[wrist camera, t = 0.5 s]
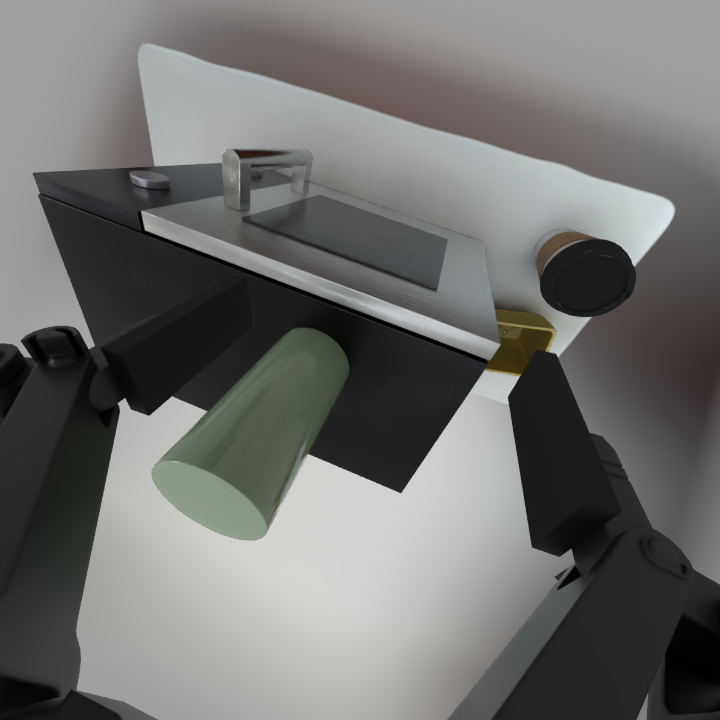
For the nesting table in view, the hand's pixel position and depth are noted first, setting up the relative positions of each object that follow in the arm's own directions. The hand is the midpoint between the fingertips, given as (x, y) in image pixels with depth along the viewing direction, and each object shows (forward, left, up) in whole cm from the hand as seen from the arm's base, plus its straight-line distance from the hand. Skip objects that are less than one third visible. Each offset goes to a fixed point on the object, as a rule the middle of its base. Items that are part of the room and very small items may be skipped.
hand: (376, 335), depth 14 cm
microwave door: (-1, -7, -39) cm, 40 cm away
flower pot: (+18, +13, -40) cm, 46 cm away
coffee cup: (+6, +17, -40) cm, 44 cm away
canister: (+8, -8, -9) cm, 15 cm away
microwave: (+9, -15, -39) cm, 43 cm away
